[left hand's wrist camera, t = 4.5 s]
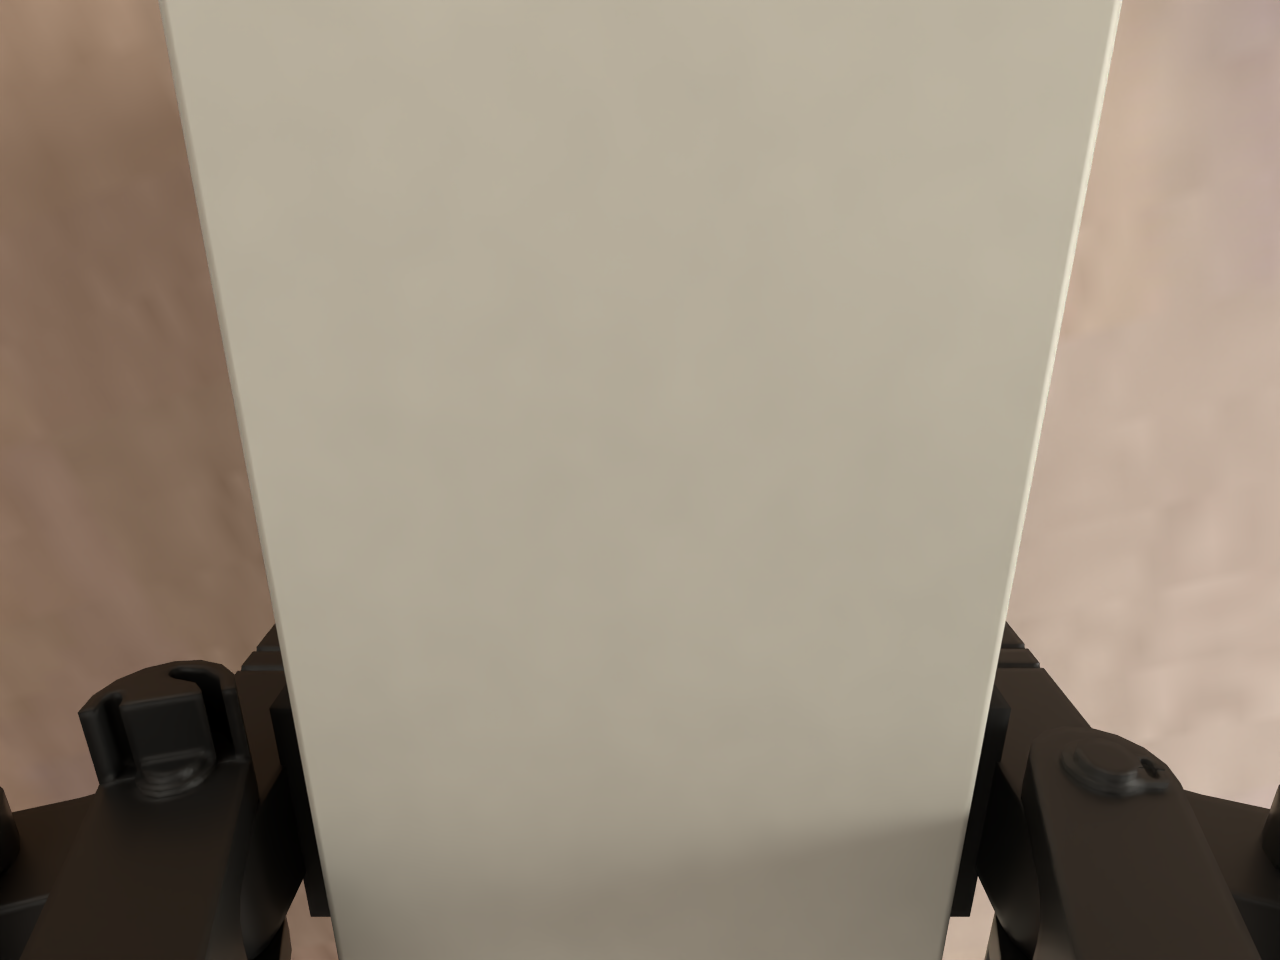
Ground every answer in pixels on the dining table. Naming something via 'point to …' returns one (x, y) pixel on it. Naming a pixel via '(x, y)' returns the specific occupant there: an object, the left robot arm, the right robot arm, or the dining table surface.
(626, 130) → the bar
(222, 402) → the dining table surface
